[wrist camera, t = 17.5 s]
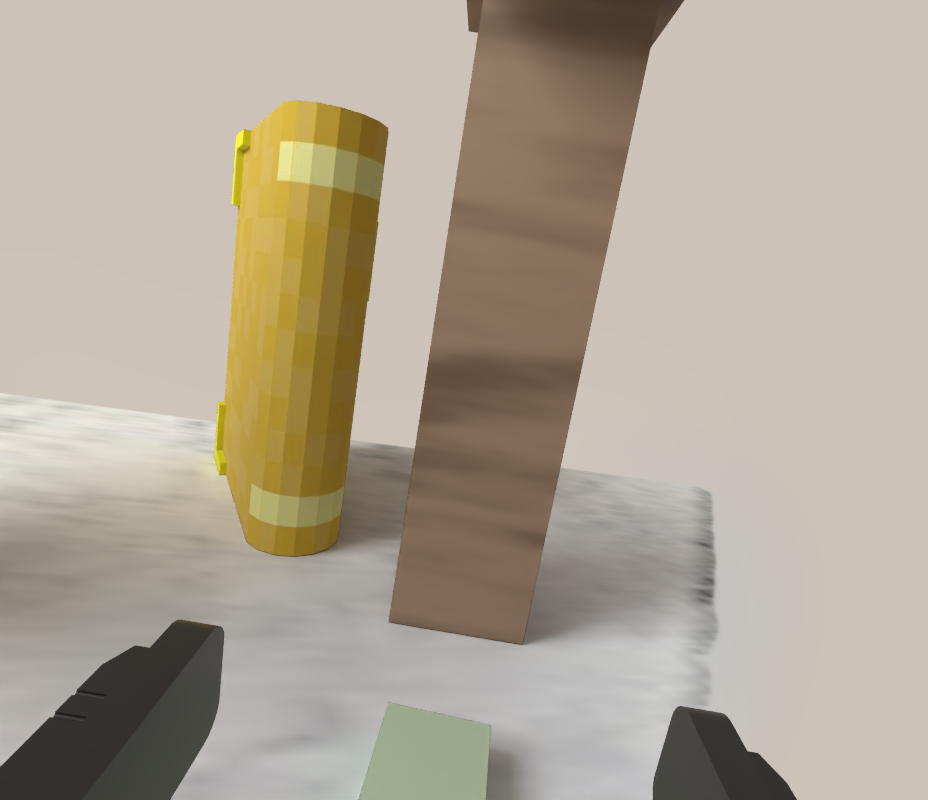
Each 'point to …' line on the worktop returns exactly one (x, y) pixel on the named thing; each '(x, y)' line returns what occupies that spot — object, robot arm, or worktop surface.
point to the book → (298, 319)
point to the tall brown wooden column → (517, 300)
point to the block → (427, 757)
